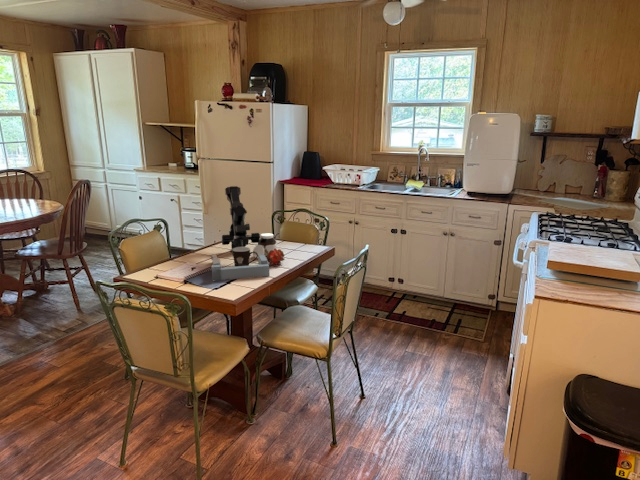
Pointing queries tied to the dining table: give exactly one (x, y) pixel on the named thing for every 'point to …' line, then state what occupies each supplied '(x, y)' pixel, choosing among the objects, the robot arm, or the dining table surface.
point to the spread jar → (265, 245)
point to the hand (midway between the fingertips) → (242, 253)
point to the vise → (241, 270)
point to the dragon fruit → (275, 256)
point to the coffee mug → (242, 256)
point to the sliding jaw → (215, 260)
